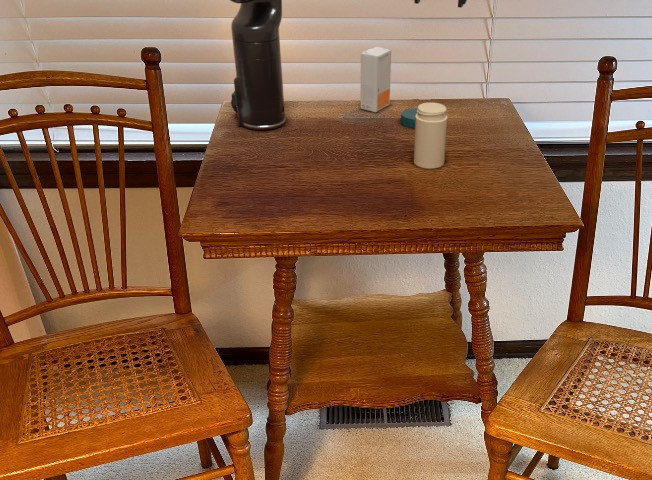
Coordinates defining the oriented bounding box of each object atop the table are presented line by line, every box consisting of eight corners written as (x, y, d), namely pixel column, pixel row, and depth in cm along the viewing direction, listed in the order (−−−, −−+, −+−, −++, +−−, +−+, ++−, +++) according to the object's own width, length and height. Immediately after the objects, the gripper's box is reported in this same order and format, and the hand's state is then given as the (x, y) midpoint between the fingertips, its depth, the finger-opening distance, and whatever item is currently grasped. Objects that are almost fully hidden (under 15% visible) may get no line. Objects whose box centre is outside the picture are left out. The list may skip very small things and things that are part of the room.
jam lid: (434, 118, 162) (435, 110, 161) (427, 130, 157) (428, 121, 156) (405, 115, 164) (405, 106, 162) (397, 126, 159) (397, 117, 158)
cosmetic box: (376, 113, 164) (376, 56, 157) (360, 109, 166) (359, 52, 158) (390, 105, 168) (392, 49, 161) (374, 101, 170) (375, 45, 162)
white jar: (412, 167, 143) (414, 112, 136) (414, 154, 148) (416, 100, 141) (443, 169, 143) (447, 114, 136) (445, 156, 147) (448, 102, 140)
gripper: (400, -93, 133) (398, 6, 143) (479, -88, 130) (471, 12, 140) (410, -99, 138) (408, -3, 149) (487, -95, 136) (478, 3, 146)
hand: (438, 4), depth 145 cm, fingers open, 8 cm apart
